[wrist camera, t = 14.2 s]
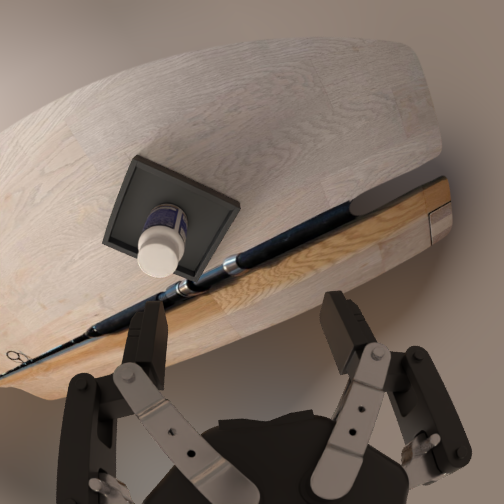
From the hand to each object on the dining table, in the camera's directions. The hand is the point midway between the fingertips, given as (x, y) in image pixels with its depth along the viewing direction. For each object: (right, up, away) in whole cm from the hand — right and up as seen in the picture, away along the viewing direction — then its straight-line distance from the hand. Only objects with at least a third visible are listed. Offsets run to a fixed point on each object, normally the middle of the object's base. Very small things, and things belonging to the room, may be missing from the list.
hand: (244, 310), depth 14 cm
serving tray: (-11, +7, +26) cm, 29 cm away
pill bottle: (-11, +7, +25) cm, 29 cm away
